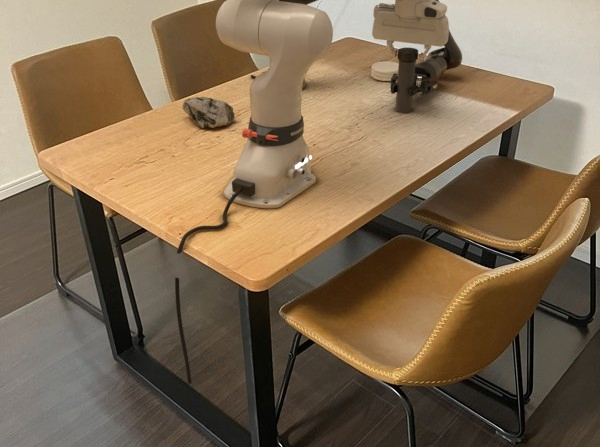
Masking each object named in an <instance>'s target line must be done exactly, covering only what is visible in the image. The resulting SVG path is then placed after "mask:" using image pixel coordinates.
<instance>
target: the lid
mask: <svg viewBox="0 0 600 447" xmlns="http://www.w3.org/2000/svg"><path fill="white" fill-rule="evenodd" d="M396 57H397V59H398V61H399V60H401V61H409V62H410V61H415V60H416V61H417V60H419V49H417V48H415V47H401V48H398V49H397V56H396Z"/></svg>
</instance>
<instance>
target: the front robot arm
mask: <svg viewBox="0 0 600 447" xmlns="http://www.w3.org/2000/svg"><path fill="white" fill-rule="evenodd" d="M447 11H448V6H447V5H446V4H445V3H442V2H440V1H439V2H438V1H436V0H394V3H385V2H380V3H378V4H376V5H375V6H374V7H373V23H372V24H373V25H372V31H371V35H372V37H373V39H374V40H380V41H386V46H387V48H388V50H389V57H390V58H396V57H397V56H398V49H397V48H395V47H394V42H399V43H404V44H405V43H407V44H416V45H423V48H424V52H420V53H418V61H419V62H421V61H425V60H426V58H427V55H428V54H429V51H430V50H431V49H432V47H440V48H443V47H445V46H444V45H445V44H446V43H447V41H448V35H449V30H450V27H449V26H450V24H449V19H448V16H447V15H446V14H447ZM215 31H216V34H217V36H218V39H219V40H220V42H221V43H222V44H223V45H225V46H228V47H230V48H232V49H234V50H236V51H239V52H240V53H241V52H242V53H246V54H253V55H259V56H266V57H268V59H269V67H268V69H269V70H268V69H267V70H265V71H266V72H265V71H263V72H264V73H262V72H261V73H262V74H261V73H260V74H258V75H256V78H253V80H252V82H251V84H250V86H249V101H250V102H249V103H250V117H249V123H248V126H247V128H245V127H244V128H243V129H242V131H241V137H242V138H244V139H247V140H246V142H245V144H244V146H243V148H242V151H241V153H240V154H239V157H238V159H237V161H236V163H235V166H234V167H233V168H234V169H233V177H232V178H231V180H230V181H229V183H228V184H227V186H226V187H225V188H224V190H223V196H224V198H225V199H228V202H226V203H227V204H226V205H225V208H224V210H223V211H222V212H223V213H222V221H223V222H222V223H221V224H216V225H200V226H196V227H194V228H191V229H190V230H187V231H186V233H184V234H183V236H182V238H181V240H180V242H179V244H178V247H177V250H176V254H181V253H182V251H183V248H184V245H185V243H186V241H187V239H188V238H189V236H191V235H192V234H194V233H196V232H199V231H205V230H207V231H209V230H211V231H213V230H214V231H215V230H220V229H223V228H225V227H226V226H227V225H228V218H227V214H228V213H229V210H230V208H231V206H232V204H233V203H237V204H239V205H244V206H248V207H252V208H258V209H278V208H280V207H283V205H285V204H286V203H288V202H289V201H292V199H294V198H295V197H296V196H298V195H299V194H301V193H303V192H304V191H305V190H307V189H308V188H309V187H311V186H313V185H314V184H316V182H317V176H316V175H315V174H314V173H312V167H311V160H312V155H311V154H310V147H309V145H308V144H307V142H306V140H305V138H304V133H305V132H304V131H305V130H304V127H305V121H304V116H303V115H302V97H303V96H302V95H303V89H302V85H303V81H304V78H305V77H306V75H307V73H308V71H309V70H310V68H312V66H313V65H314V64H315V63H317V61H319V60H321V59H322V58H323V57H324V56H325V55H327V52H328V51H329V50H330V48H331V45H332V43H333V38H334V28H333V24H332V21H331V18H330V17H329V14H327V12H325V11H324V10H322V9H319V8H316V7H314V6H310V5H309V4H308V5H305V4H299V3H291V2H282V1H279V0H225V1H224V2H222V4H221V6H220V7H219V8H218V11H217V13H216V17H215ZM174 285H175V286H174V289H175V291H174V292H175V307H176V317H177V318H176V319H177V324H178V331H179V337H180V342H181V347H182V348H181V349H182V352H183V358H184V364H185V371H186V375H187V376H186V378H187V384H189V385H190V384H192V383H193V381H192V374H191V368H190V362H189V356H188V350H187V345H186V339H185V332H184V328H183V320H182V312H181V299H180V278H179V277H174Z"/></svg>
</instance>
